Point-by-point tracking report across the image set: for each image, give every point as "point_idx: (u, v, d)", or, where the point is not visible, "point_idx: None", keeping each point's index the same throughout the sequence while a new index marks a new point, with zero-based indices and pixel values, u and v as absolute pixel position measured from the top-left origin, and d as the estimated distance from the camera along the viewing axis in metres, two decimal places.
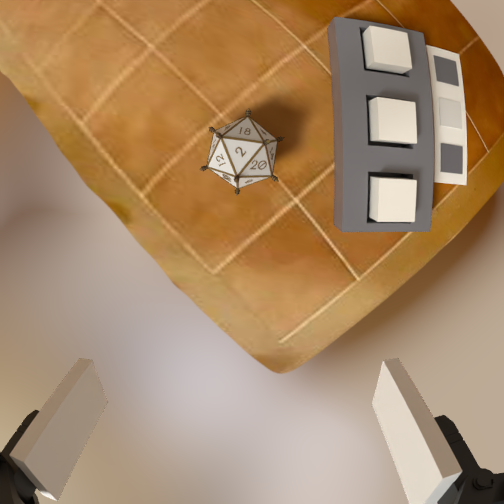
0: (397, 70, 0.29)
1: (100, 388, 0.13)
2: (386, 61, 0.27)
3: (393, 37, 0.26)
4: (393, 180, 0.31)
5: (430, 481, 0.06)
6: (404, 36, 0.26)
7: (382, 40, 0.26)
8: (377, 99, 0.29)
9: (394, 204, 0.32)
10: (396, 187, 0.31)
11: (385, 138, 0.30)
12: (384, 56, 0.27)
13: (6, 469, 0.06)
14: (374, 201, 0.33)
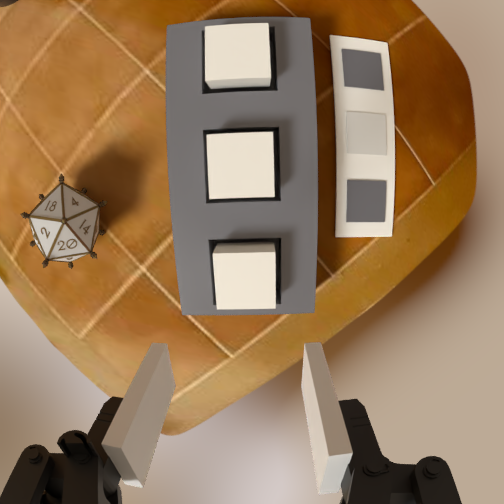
0: (256, 84, 0.22)
1: (171, 372, 0.14)
2: (225, 75, 0.20)
3: (242, 35, 0.19)
4: (235, 255, 0.24)
5: (324, 459, 0.08)
6: (262, 29, 0.19)
7: (221, 44, 0.19)
8: (207, 138, 0.22)
9: (239, 287, 0.25)
10: (240, 263, 0.24)
11: (219, 196, 0.23)
12: (222, 68, 0.20)
13: (97, 464, 0.07)
14: None
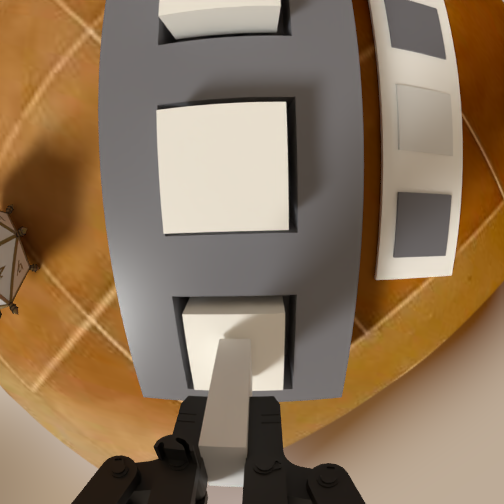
0: (253, 24, 0.11)
1: None
2: (196, 3, 0.09)
3: None
4: (219, 317, 0.14)
5: None
6: None
7: None
8: (158, 116, 0.11)
9: None
10: (227, 330, 0.15)
11: (182, 228, 0.12)
12: None
13: (194, 473, 0.07)
14: None
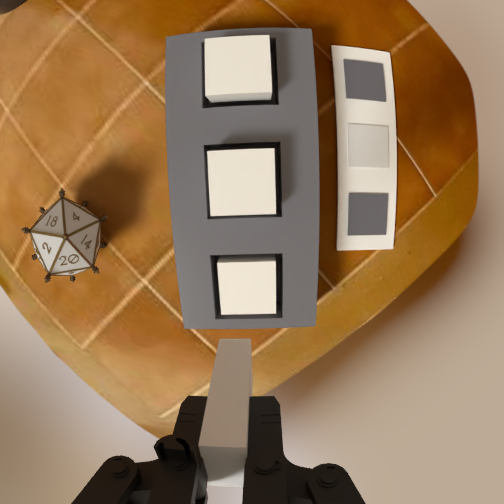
0: (257, 98, 0.22)
1: None
2: (226, 89, 0.20)
3: (242, 48, 0.19)
4: (238, 264, 0.26)
5: None
6: (263, 41, 0.19)
7: (222, 57, 0.20)
8: (208, 154, 0.22)
9: (242, 293, 0.27)
10: (243, 272, 0.26)
11: (220, 213, 0.23)
12: (223, 82, 0.20)
13: (194, 473, 0.07)
14: None
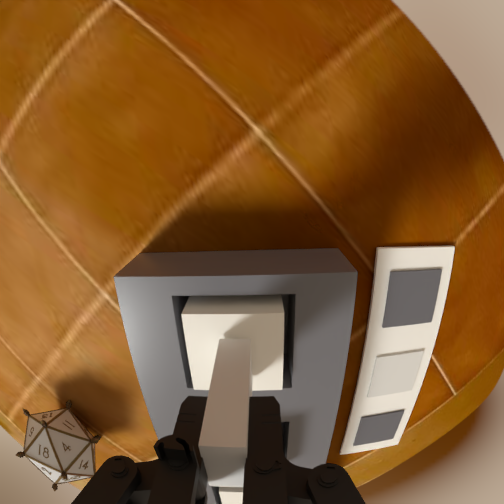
0: None
1: None
2: None
3: (242, 333, 0.15)
4: (239, 493, 0.20)
5: None
6: (274, 324, 0.14)
7: (211, 346, 0.15)
8: None
9: None
10: None
11: None
12: None
13: (194, 473, 0.07)
14: None
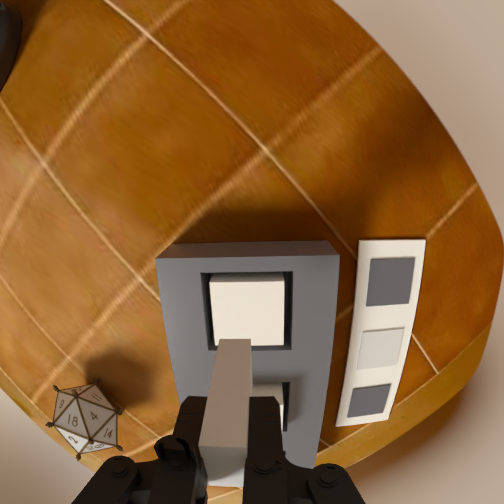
0: None
1: None
2: None
3: (253, 297, 0.20)
4: None
5: None
6: (277, 290, 0.20)
7: (230, 308, 0.21)
8: None
9: None
10: None
11: None
12: (233, 334, 0.21)
13: (194, 473, 0.07)
14: None
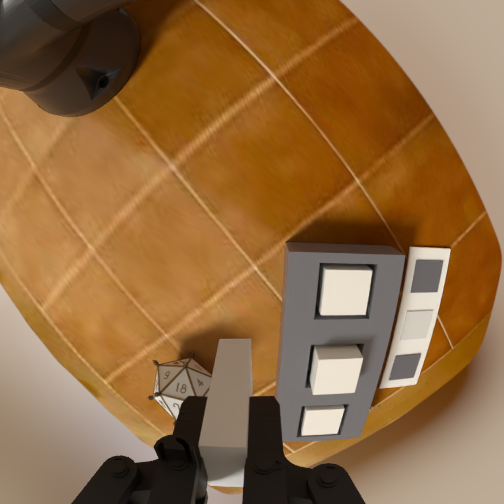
0: None
1: None
2: (335, 312, 0.30)
3: (352, 280, 0.29)
4: (320, 411, 0.34)
5: None
6: (367, 276, 0.29)
7: (336, 287, 0.30)
8: (318, 361, 0.30)
9: (318, 425, 0.35)
10: (322, 414, 0.34)
11: (320, 393, 0.31)
12: (334, 307, 0.30)
13: (194, 473, 0.07)
14: (302, 418, 0.36)
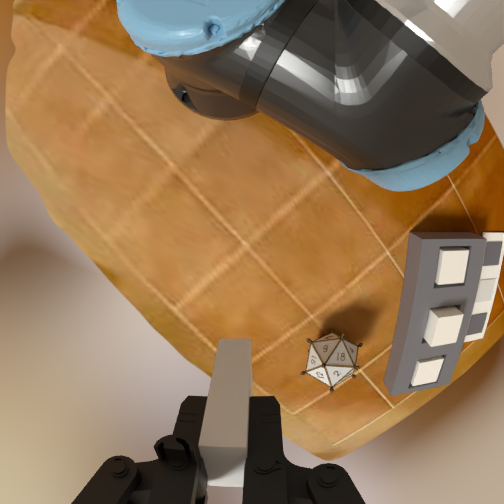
0: None
1: None
2: (447, 281, 0.37)
3: (457, 258, 0.36)
4: (428, 362, 0.41)
5: None
6: (466, 254, 0.36)
7: (448, 263, 0.36)
8: (437, 319, 0.37)
9: (425, 375, 0.42)
10: (429, 365, 0.41)
11: (435, 345, 0.38)
12: (446, 278, 0.37)
13: (194, 473, 0.07)
14: None
